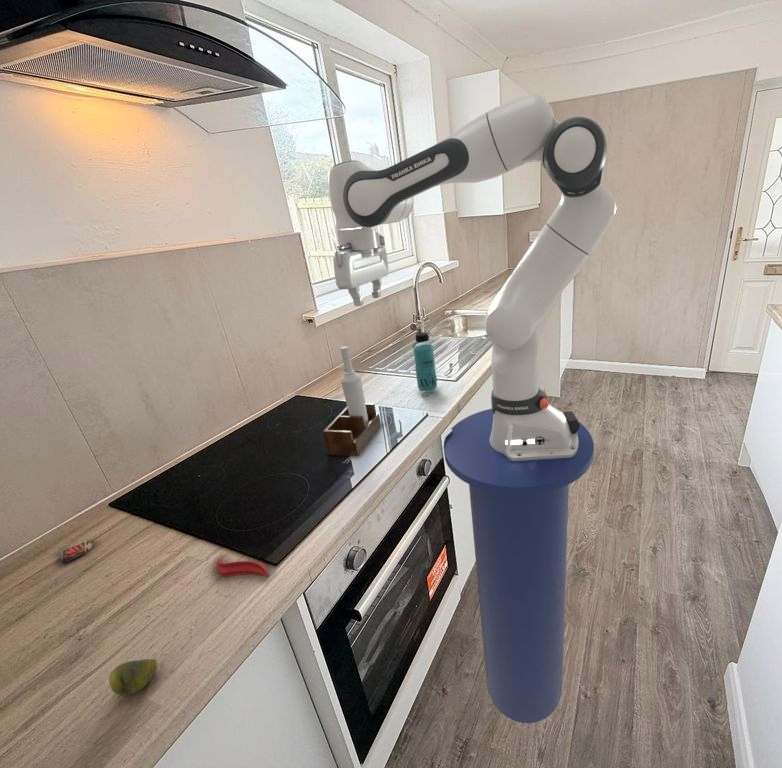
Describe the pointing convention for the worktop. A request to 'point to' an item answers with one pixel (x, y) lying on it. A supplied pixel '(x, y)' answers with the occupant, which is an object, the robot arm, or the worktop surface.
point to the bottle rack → (351, 432)
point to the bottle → (353, 388)
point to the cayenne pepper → (241, 568)
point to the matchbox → (74, 551)
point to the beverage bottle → (425, 363)
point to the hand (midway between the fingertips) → (368, 301)
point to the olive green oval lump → (132, 676)
